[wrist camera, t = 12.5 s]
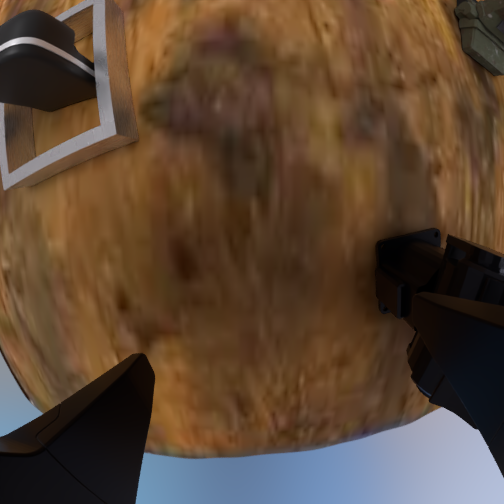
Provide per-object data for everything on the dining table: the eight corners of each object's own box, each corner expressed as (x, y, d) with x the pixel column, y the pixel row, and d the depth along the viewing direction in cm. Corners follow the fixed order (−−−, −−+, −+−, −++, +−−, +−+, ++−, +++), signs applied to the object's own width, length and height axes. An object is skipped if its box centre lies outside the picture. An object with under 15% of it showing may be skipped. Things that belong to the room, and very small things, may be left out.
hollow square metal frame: (122, 11, 15) (105, -10, 11) (139, 140, 19) (116, 134, 15) (24, 66, 16) (0, 58, 12) (32, 185, 19) (4, 190, 15)
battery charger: (116, 53, 16) (36, -9, 5) (113, 93, 17) (19, 47, 6) (51, 76, 16) (-36, 46, 5) (47, 114, 17) (-49, 98, 6)
